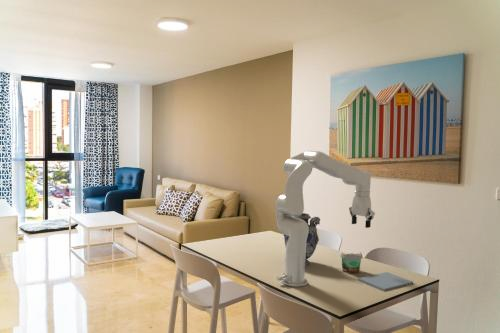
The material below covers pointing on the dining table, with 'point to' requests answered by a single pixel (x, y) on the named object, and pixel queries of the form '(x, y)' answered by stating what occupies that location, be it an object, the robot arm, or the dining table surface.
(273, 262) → the dining table surface
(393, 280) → the slate mat
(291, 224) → the robot arm
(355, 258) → the food container
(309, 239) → the decorative vase
